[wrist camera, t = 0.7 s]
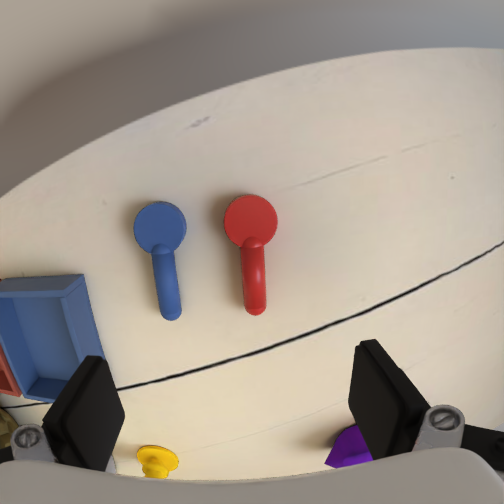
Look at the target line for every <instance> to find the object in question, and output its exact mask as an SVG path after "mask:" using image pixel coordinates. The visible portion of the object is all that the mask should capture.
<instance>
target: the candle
mask: <svg viewBox="0 0 504 504" xmlns="http://www.w3.org/2000/svg"><path fill="white" fill-rule="evenodd" d="M137 458H138V460H139V462H140V463H141V464H143V467H142V470H143V472H144V473H145V474H146V475H145V477H147V478H158V479H164V478H166V477H167V476H168V474H169V471H173V470H175V469H176V468H177V467H178V462H179V461H178V458H177V456H176V455H175V454H174V453H172V452H171V451H169V450H167V449H165V448H162V447H158V446H145V447H142V448H140V449H139V450H138V452H137Z"/></svg>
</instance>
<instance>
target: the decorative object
mask: <svg viewBox="0 0 504 504" xmlns="http://www.w3.org/2000/svg"><path fill="white" fill-rule="evenodd" d="M18 427H19V426H18V425H17V423H16V422H15V421H14V419H13V418H12V417H11V416H10V415H9V414H8V413H7V412H5V411H4V410H3V409H1V408H0V449H2V448H5V447H8V446H11V442H10V438H11V435H12V433H13V432H14V431H15V430H16V429H17V428H18Z"/></svg>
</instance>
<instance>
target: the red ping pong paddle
mask: <svg viewBox="0 0 504 504" xmlns="http://www.w3.org/2000/svg"><path fill="white" fill-rule="evenodd" d="M277 224H278V220H277V215H276V212H275V210H274V208H273V207H272V205H271V204H270V203H269V202H268V201H267V200H265V199H264V198H262V197H260V196H257V195H243V196H240V197H238V198H236V199H235V200H233V201H232V202H231V203H230V205H229V206H228V208H227V210H226V212H225V216H224V228H225V232H226V234H227V236H228V237H229V239H230V240H231V241H232V242H233V243H235V244H236V245H238V246H240V251H241V265H242V280H243V294H244V306H245V309H246V311H247V312H248V313H249V314H251V315H255V316H256V315H260V314H262V313H263V312H264V311H265V309H266V284H265V263H264V245H265V244H266V243H268V242H269V241H270V240H271V239H272V237H273V236H274V234H275V232H276V229H277Z"/></svg>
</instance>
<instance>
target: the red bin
mask: <svg viewBox="0 0 504 504" xmlns="http://www.w3.org/2000/svg"><path fill="white" fill-rule="evenodd" d="M0 282H1V279H0ZM0 393H4V394H8V395H13V396H17V397H20V395H21V394H22V392H21V390H20V388H19V386H18V384H17V381H16V379H15V377H14V375H13V373H12V370H11V368H10V366H9V363H8V361H7V359H6V356H5V354H4V351H3V349H2V346H1V343H0Z"/></svg>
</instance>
